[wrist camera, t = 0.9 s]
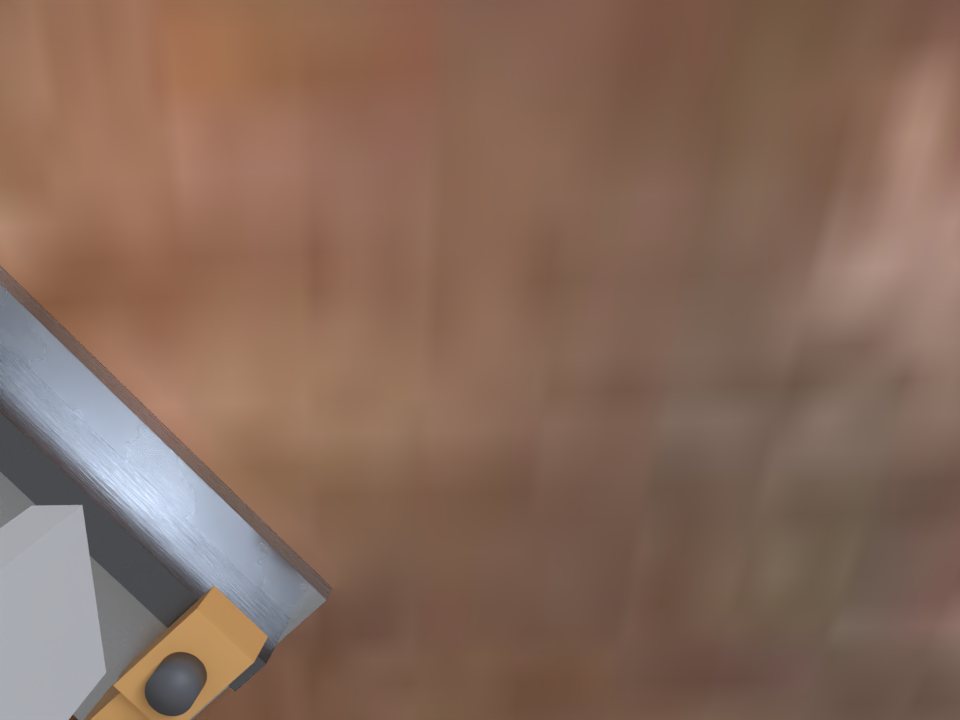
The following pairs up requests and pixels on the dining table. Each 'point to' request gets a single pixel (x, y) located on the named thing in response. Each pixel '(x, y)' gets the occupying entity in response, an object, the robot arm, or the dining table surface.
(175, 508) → the plate
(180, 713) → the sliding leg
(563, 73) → the dining table surface
